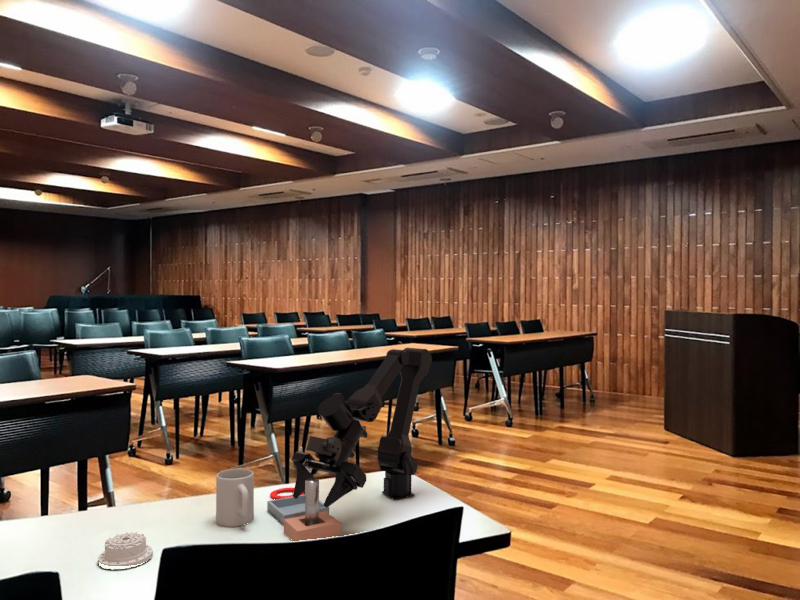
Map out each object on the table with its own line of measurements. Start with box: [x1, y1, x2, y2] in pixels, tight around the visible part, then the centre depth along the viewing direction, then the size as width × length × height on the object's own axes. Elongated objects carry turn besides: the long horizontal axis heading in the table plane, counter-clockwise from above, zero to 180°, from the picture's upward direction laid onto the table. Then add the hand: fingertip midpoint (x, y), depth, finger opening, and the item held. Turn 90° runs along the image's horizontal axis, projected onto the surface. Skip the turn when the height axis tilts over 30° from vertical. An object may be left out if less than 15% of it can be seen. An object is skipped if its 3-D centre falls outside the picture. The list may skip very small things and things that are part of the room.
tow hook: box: [269, 446, 305, 500], centre depth 165 cm, size 8×13×9 cm
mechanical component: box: [97, 531, 154, 566], centre depth 126 cm, size 10×4×10 cm
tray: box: [266, 495, 330, 527], centre depth 151 cm, size 11×11×2 cm
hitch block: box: [283, 511, 341, 542], centre depth 139 cm, size 10×8×3 cm
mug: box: [215, 468, 255, 528], centre depth 146 cm, size 12×8×11 cm
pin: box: [305, 477, 320, 526], centre depth 139 cm, size 3×3×12 cm
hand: (309, 502), depth 139 cm, fingers open, 9 cm apart
